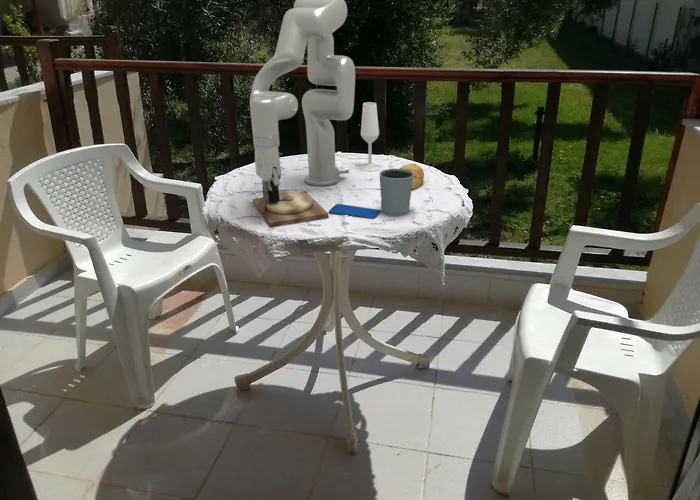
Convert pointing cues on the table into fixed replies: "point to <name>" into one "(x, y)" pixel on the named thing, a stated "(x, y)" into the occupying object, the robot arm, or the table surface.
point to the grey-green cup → (395, 191)
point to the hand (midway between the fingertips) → (271, 199)
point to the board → (286, 219)
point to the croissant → (415, 174)
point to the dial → (288, 201)
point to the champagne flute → (369, 131)
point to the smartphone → (354, 211)
